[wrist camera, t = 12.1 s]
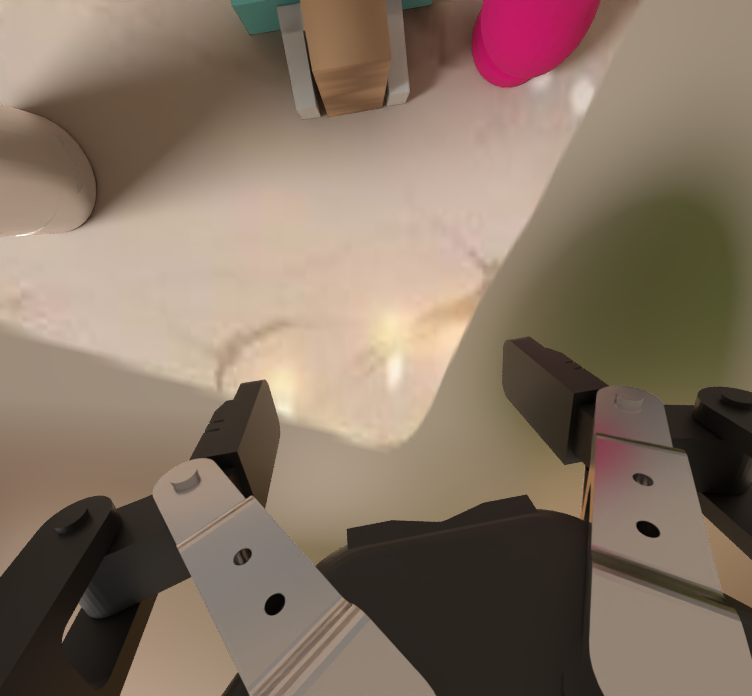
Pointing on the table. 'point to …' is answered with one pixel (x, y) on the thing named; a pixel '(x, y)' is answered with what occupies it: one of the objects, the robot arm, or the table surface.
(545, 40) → the pepper mill
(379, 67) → the peg
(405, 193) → the table surface
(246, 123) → the table surface
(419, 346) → the table surface
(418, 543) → the robot arm
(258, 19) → the wall
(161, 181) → the table surface
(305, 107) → the frame
